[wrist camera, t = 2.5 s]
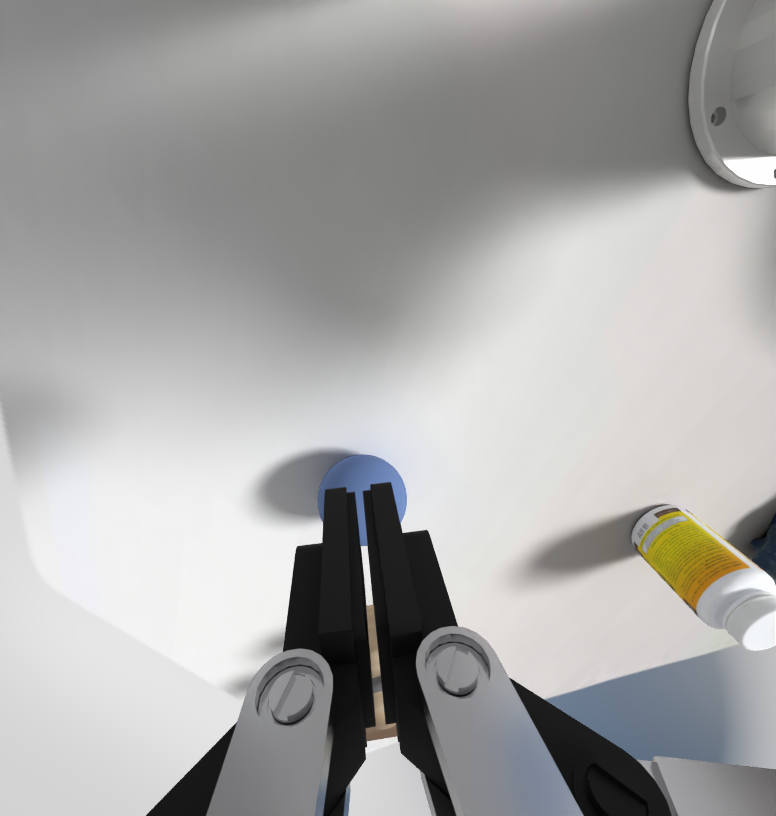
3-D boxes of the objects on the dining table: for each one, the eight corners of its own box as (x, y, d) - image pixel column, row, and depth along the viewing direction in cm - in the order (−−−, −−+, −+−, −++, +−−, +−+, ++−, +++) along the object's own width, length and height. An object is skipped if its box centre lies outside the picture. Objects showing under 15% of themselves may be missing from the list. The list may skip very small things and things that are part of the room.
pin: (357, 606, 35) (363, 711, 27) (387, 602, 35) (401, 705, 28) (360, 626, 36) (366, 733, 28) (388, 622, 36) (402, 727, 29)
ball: (314, 443, 28) (309, 494, 23) (398, 435, 29) (412, 482, 23) (324, 511, 31) (321, 572, 25) (401, 502, 31) (415, 560, 26)
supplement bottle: (615, 544, 36) (713, 653, 27) (652, 495, 34) (771, 594, 25) (662, 556, 37) (770, 664, 28) (699, 510, 35) (829, 609, 26)
